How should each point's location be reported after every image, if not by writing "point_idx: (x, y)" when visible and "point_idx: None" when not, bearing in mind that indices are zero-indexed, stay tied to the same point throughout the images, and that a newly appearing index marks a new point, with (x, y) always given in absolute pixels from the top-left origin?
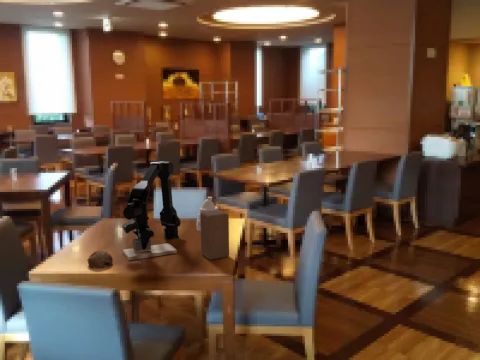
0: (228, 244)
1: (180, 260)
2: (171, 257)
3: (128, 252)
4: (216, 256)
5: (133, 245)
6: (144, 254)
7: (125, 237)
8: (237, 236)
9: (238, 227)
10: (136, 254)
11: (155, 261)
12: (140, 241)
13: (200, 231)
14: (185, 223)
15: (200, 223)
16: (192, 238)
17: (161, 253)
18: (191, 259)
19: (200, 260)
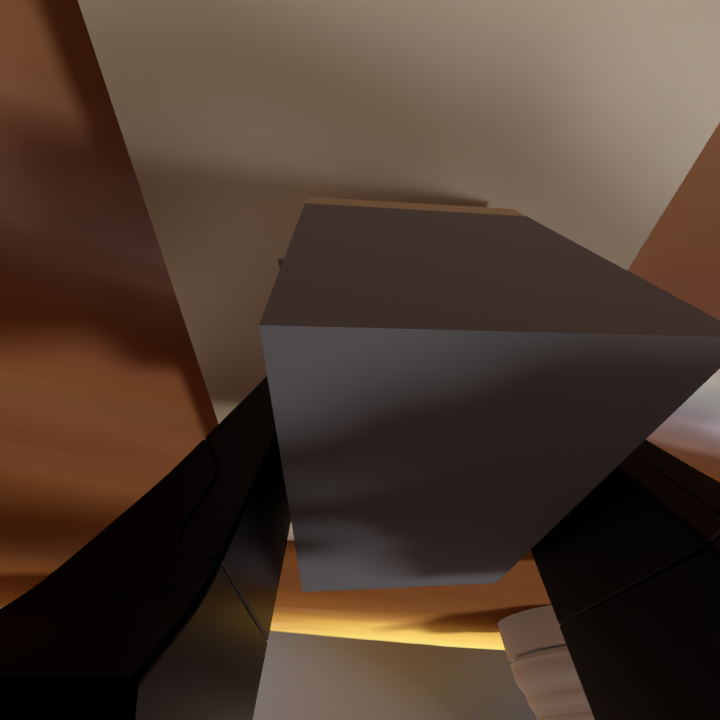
0: None
1: (57, 499)
2: (155, 476)
3: (476, 32)
4: None
5: (551, 240)
6: (190, 308)
7: None
8: (382, 639)
9: (475, 646)
10: (236, 180)
11: (20, 353)
12: (285, 462)
13: (548, 606)
14: None
15: (570, 659)
16: (485, 584)
17: None
18: (81, 537)
19: (54, 557)
